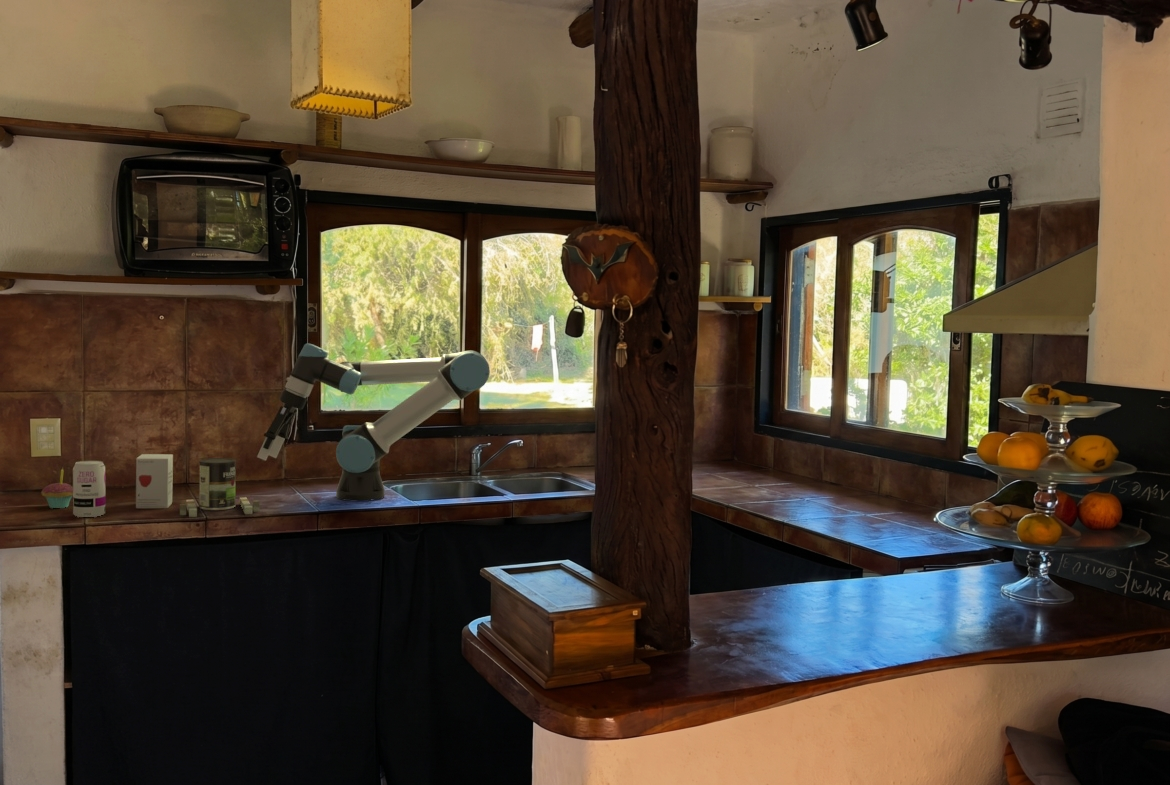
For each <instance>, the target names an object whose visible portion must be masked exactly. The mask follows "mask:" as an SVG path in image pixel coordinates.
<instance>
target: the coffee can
mask: <svg viewBox="0 0 1170 785" xmlns="http://www.w3.org/2000/svg"><path fill="white" fill-rule="evenodd" d="M198 463H199V495H198V496H199V507H198V508H199V509H201V510H204V511H223V510H224V511H225V510H231V509H234V507H235V508H236V467H237V466H236V465H237V464H236V463H237V460H236V459H235V458H227V457H211V458H210V457H209V458H204V459H203V458H202V459H200V460H199V461H198Z"/></svg>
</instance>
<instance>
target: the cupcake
mask: <svg viewBox="0 0 1170 785" xmlns="http://www.w3.org/2000/svg"><path fill="white" fill-rule="evenodd" d="M61 468H62V469H61V470H60V477H59V482H57V483H56V482H55V483H50V484H48V485H46V486H45V487H44V488H42V489H41V492H40V494H41V496H42V497H44V498H45V499H46V501H47V503H48V506H49V508H50V509H53V508H60V509H66V508H68V507H69V505H70V501H71V500H72V499H73V485H71V484H69V483H68V482H67V483H65V482H63V478H64V466H62V467H61ZM65 507H66V508H65Z"/></svg>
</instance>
